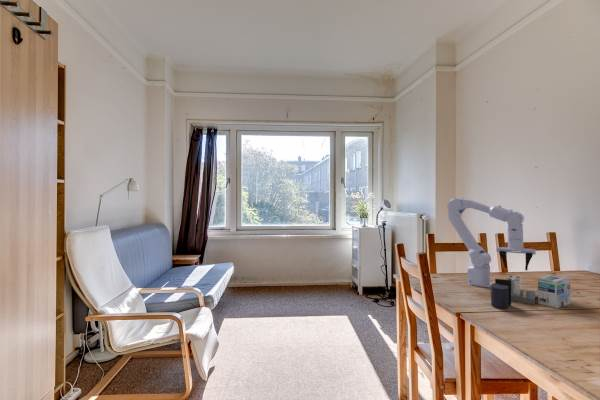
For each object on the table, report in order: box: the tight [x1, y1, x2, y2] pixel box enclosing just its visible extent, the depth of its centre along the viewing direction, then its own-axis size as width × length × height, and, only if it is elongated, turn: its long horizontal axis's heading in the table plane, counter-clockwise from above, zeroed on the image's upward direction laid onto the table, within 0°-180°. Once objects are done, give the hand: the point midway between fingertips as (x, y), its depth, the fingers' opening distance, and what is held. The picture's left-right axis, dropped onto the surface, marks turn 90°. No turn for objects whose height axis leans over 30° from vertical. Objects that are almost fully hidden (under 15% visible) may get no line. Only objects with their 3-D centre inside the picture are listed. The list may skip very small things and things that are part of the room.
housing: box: [505, 275, 522, 296], centre depth 133 cm, size 8×5×6 cm, turn 143°
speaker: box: [490, 278, 512, 310], centre depth 124 cm, size 8×6×10 cm
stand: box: [511, 287, 536, 305], centre depth 134 cm, size 14×12×4 cm
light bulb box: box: [537, 274, 572, 309], centre depth 125 cm, size 11×7×11 cm, turn 118°
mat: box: [521, 288, 538, 297], centre depth 141 cm, size 16×9×1 cm, turn 53°
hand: (515, 269), depth 144 cm, fingers open, 7 cm apart
